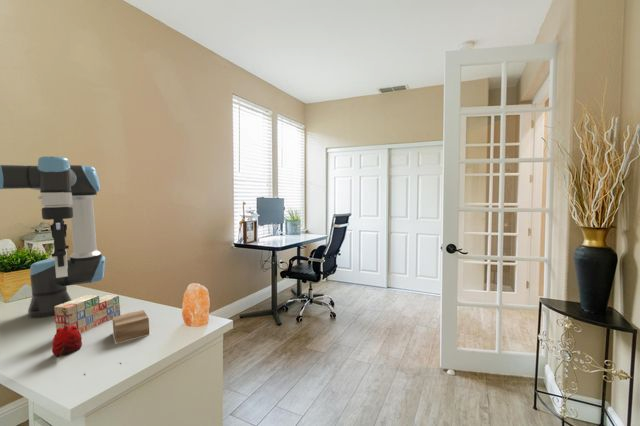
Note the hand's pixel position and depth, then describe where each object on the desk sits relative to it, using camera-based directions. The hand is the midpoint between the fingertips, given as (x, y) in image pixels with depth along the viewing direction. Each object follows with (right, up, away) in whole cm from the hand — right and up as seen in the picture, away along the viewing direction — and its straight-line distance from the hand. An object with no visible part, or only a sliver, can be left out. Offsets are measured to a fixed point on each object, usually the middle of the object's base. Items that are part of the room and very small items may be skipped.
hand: (62, 272), depth 99 cm
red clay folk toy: (0, -27, +2) cm, 27 cm away
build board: (+13, -26, +12) cm, 31 cm away
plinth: (+14, -25, +13) cm, 31 cm away
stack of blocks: (-7, -26, +22) cm, 34 cm away
